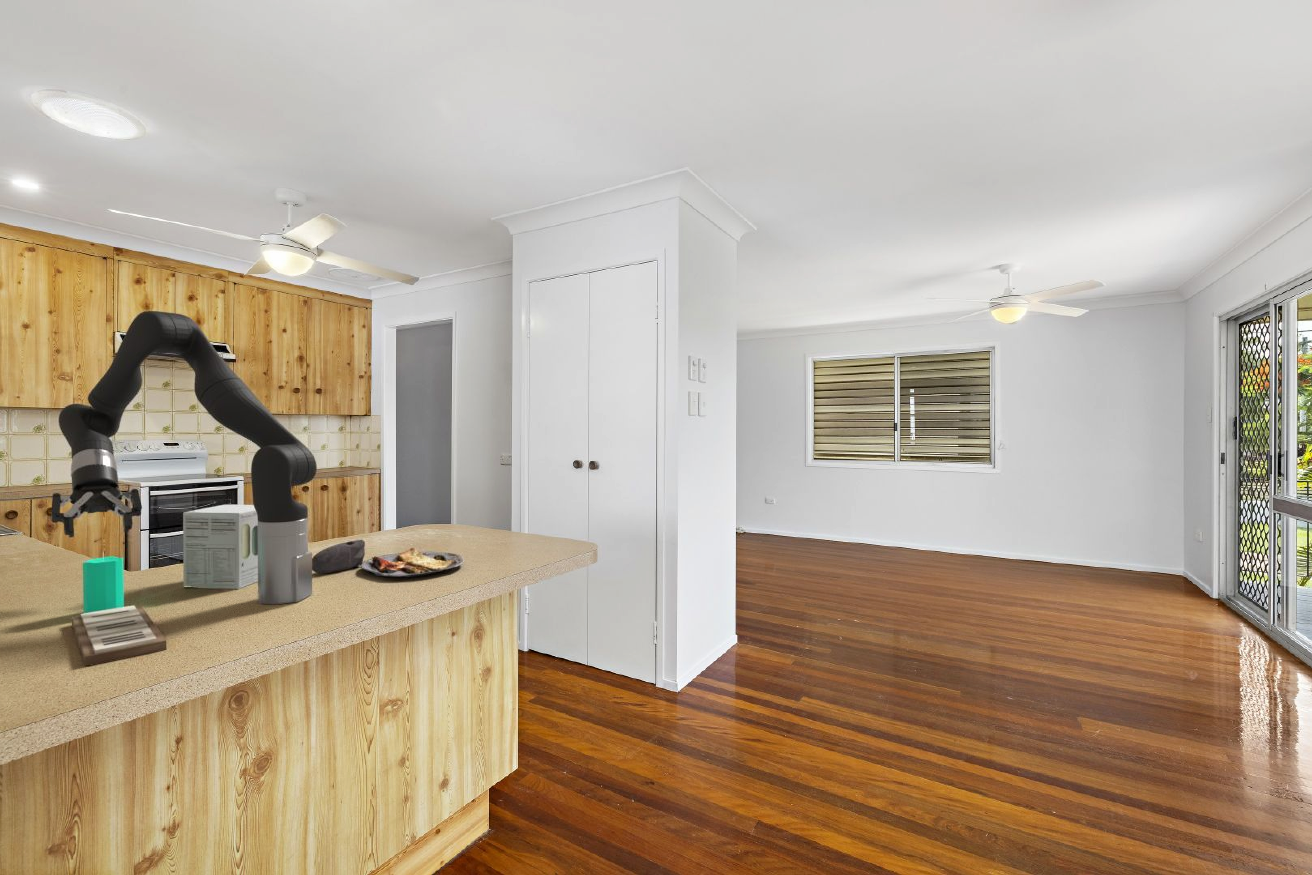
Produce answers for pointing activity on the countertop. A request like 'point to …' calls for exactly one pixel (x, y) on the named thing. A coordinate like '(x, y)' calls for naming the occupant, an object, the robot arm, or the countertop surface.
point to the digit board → (116, 634)
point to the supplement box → (220, 547)
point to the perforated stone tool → (339, 557)
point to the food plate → (411, 563)
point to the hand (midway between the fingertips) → (99, 532)
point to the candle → (103, 584)
